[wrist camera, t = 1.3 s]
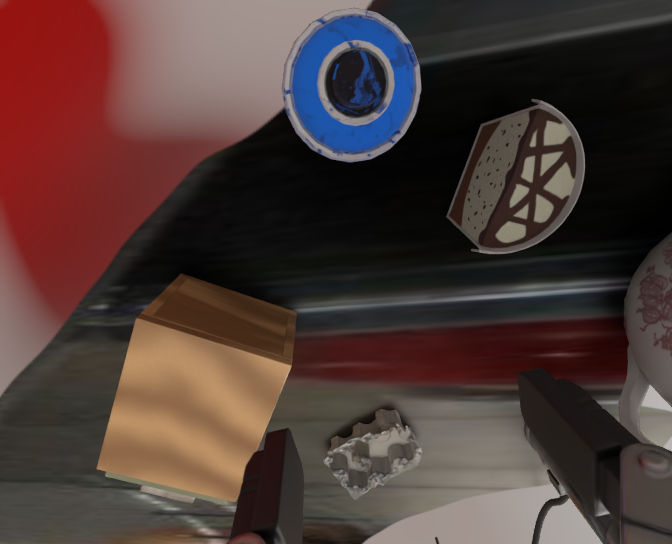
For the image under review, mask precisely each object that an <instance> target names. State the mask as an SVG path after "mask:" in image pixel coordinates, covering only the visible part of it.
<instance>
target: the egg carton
mask: <svg viewBox="0 0 672 544" xmlns="http://www.w3.org/2000/svg"><path fill="white" fill-rule="evenodd" d="M375 414H376V416H375V417H376V419H375V420H374V421H373V422H372V423H370V424H362V423H358V424H357V425H355V426H353V433H352V435H351V436H349V437H347V438H340V437H338V436H336V437H333V438H332V439H331V447H330V449H329V451H328V453H327V458H326V459H325V460H323V462H324V464H325V465H326V464H327V465H328V467H329V468H330V470H331V472H332V474H333V475H335V476H336V478H337V479H338V481H339V482H340V483H341V484H342V486H343V487H344V488H346V489H347V490H348V492H349V494H350V495H351V496H352V497H353V498H354V500H357V499H358V498H359V497H361V496H362V495H363V494H364V493H366V492H367V491H368V490H369V489H370V488H372V487H373V488H375V487H376V486H377V484H381V485H384V484H385V483H386V482H387V481H388V480H390V479H392V478H394V477H396V476H397V475H399V474H400V473H402V472H405V471H409V470H412V469H414V468H415V467H417V465H418V464H419V462H420V459H421V457H422V455H423V451H422V449H420V448H419V446H418V444H417V441H416V438H415V436H414V433H413V432H412V430H411V428H410V427H407V426H405V428H404V427H403V425H402V423H401V419H400V417H399V414H398V412H397V411H396V410H391V411H387V410H384V409H380V410H378V411H376V413H375Z"/></svg>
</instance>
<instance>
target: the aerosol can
mask: <svg viewBox="0 0 672 544" xmlns="http://www.w3.org/2000/svg"><path fill="white" fill-rule="evenodd" d="M282 92H283V98H284V104H285V109H286V113H287V115H288V117H289V119H290V121H291V123H292V125H293V127H294V129H295V131H296V133H297V134H298V135H299V136H300V137H301V139H302V140H303V141H304V142H305V143H306V144H307V145H308V146H309V147H310V148H311V149H312V150H314V151H316V152H318V153H320V154H322V155H324V156H326V157H328V158H330V159H334V160H340V161H346V162H356V161H362V160H369V159H372V158H374V157H376V156H378V155H380V154H382V153H384V152H386V151H387V150H389V149H390V148H391V147H392V146H393V145H394V144H395V143H396V142H397V141H398V140H399V139H400V138H401V137H402V136H403V135H404V134H405V133H406V131H407V129H408V127H409V125H410V124H411V122H412V120H413V118H414V116H415V114H416V112H417V107H418V102H419V98H420V93H421V80H420V66H419V63H418V60H417V58H416V55H415V53H414V50H413V47H412V45H411V43H410V42H409V40H408V39H407V38H406V36H405V35H404V34H403V33H402V31H401V30H400V29H399V28H398V26H397V25H396V24H394V23H392V22H391V21H389V20H388V19H386V18H385V17H383V16H382V15H380V14H378V13H377V12H372V11H367V10H363V9H357V8H350V9H344V10H337V11H332V12H330V13H328V14H326V15H325V16H323V17H321V18H319V19H318V20H316V21H314V22H312V23H311V24H310V25H309V26H308V27H307V28H306V29H305V31H304V32H303V33H302V34H301V35H300V36H299V37H298V38H297V40H296V41H295V42H294V44H293V46H292V49H291V51H290V53H289V56H288V58H287V60H286V62H285V65H284V74H283V83H282Z"/></svg>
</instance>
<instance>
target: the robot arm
mask: <svg viewBox="0 0 672 544" xmlns="http://www.w3.org/2000/svg"><path fill="white" fill-rule="evenodd" d="M518 386H519V396H520V406H521V412H522V416H523V418H524V421H525V423H526V425H525V435H526V438H527V440H528V442H529V443H530V445H531V446H532V447H533V449H534V450H535V451H536V452H537V453H538V454H539V456H540V457H541V458H542V460H543V461H544V463H545V464H546V466H547V467H548V468H549V469H548V470H547V472H548V475H549V478H550V481H551V483H552V484H553V486H554V487H555V488H556V490H557V491H558V493H559V494H560V495H561V496H560V497H559V498H556V499H550V500H548V501H547V502H546V503H545V504H544V506H543V507H542V509H541V511H540V512H539V515H538V518H537V521H536V525H535V529H534V534H533V540H532V544H538V543H539V538H540V532H541V528H542V524H543V521H544V519H545V516H546V514H547V512H548V511H549V510H550V508H551V507H552V506H557V505H562V504H564V503H565V502H566V501H567V500H568V499H569V498H570V499H571V500H572V501H573V503H574V504H575V506H576V507H577V508H578V510H579V511H580V512H581V514H582V515H583V517H584V518H585V519H586V521H587V522H588V523H589V525H590V526H591V528H592V529H593V530H594V532H595V533H596V534H597V536H598V537H599V539H600V540H601V541H602V543H603V544H672V452H671V451H669V450H667V449H665V448H663V447H660V446H656V445H653V444H646V443H641V442H640V441H639V440H638V439H637V438H636V437H635V436H634V435H632V434H631V433H630V432H629V431H628V430H627V429H626V428H625V427H624V426H623V425H621V424H620V423H619V422H618V421H617V420H616V419H615V418H614V417H613V416H612V415H610V414H609V413H608V412H607V411H606V410H605V409H602V406H601V405H599V404H598V403H597V402H596V401H595V400H593V399H592V397H591V396H589V395H588V394H587V393H586V392H585V391H584V390H583V389H582V388H581V387H579V386H577V385H575V384H573V383H571V382H569V381H567V380H565V379H560V380H555V379H554V378H553V377H552V376H551V375H550V374H549V373H548V372H547V371H546V370H545V369H543V368H537V369H533V370H528V371H524V372H520V373H519V374H518ZM303 496H304V475H303V468H302V464H301V460H300V457H299V454H298V451H297V448H296V446H295V443H294V440H293V437H292V434H291V431H290V429H289V428H286V429H281V430H277V431H273V432H269V433H267V434H266V439H265V445H264V450H262V451H257V452H254V453H253V455H252V457H251V458H250V460H249V461H248V463H247V464H246V466H245V471H244V476H243V483H242V485H241V490H240V495H239V499H238V504H237V508H236V513H235V518H234V522H233V527H232V532H231V536H230V540H229V542H228V543H227V544H302V528H303ZM435 540H436V543H437V544H439V541H438V538H437V537H435Z"/></svg>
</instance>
